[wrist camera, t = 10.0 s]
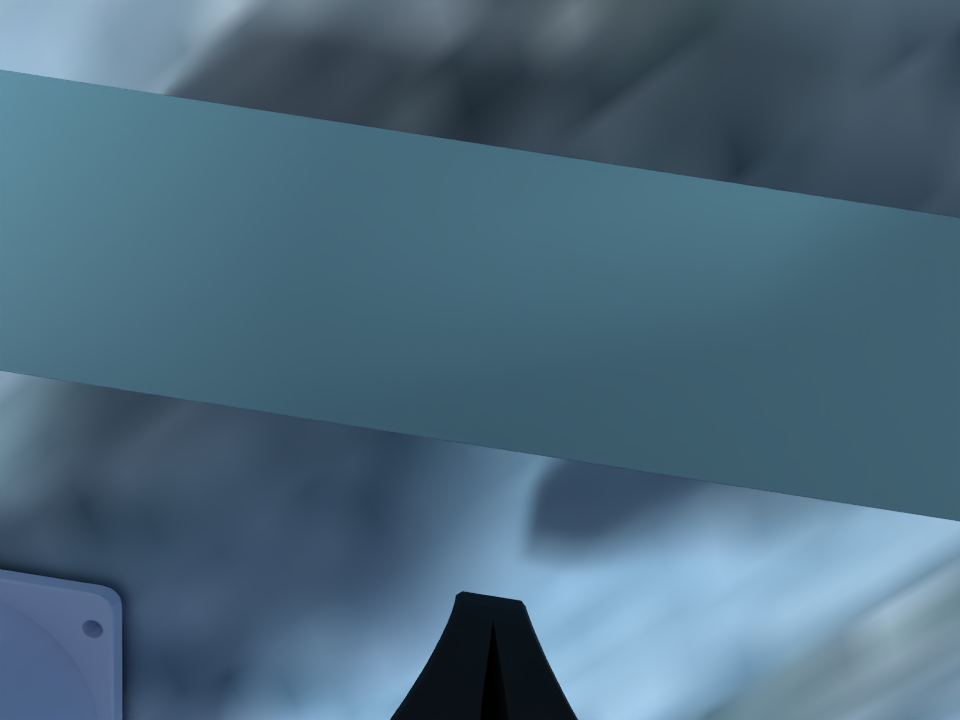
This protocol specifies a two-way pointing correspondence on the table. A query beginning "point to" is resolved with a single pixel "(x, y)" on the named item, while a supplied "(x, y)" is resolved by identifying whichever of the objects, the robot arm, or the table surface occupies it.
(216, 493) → the table surface
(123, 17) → the table surface
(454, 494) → the table surface
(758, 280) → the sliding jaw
